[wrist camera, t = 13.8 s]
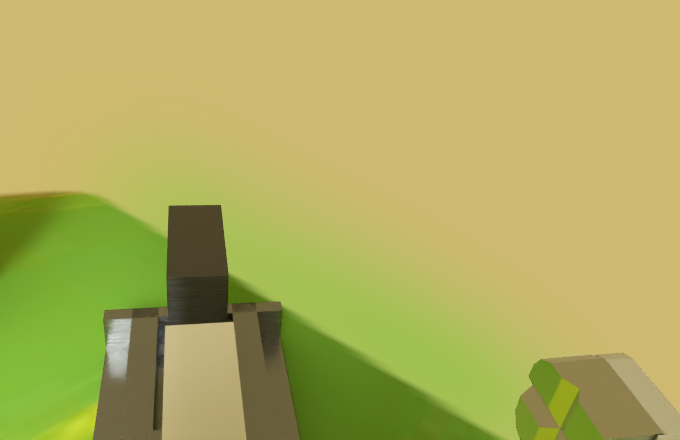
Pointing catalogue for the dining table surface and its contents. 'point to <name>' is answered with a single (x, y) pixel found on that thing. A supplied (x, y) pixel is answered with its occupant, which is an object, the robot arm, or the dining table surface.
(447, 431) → the dining table surface
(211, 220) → the rack
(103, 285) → the dining table surface
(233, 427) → the beige rectangular block
